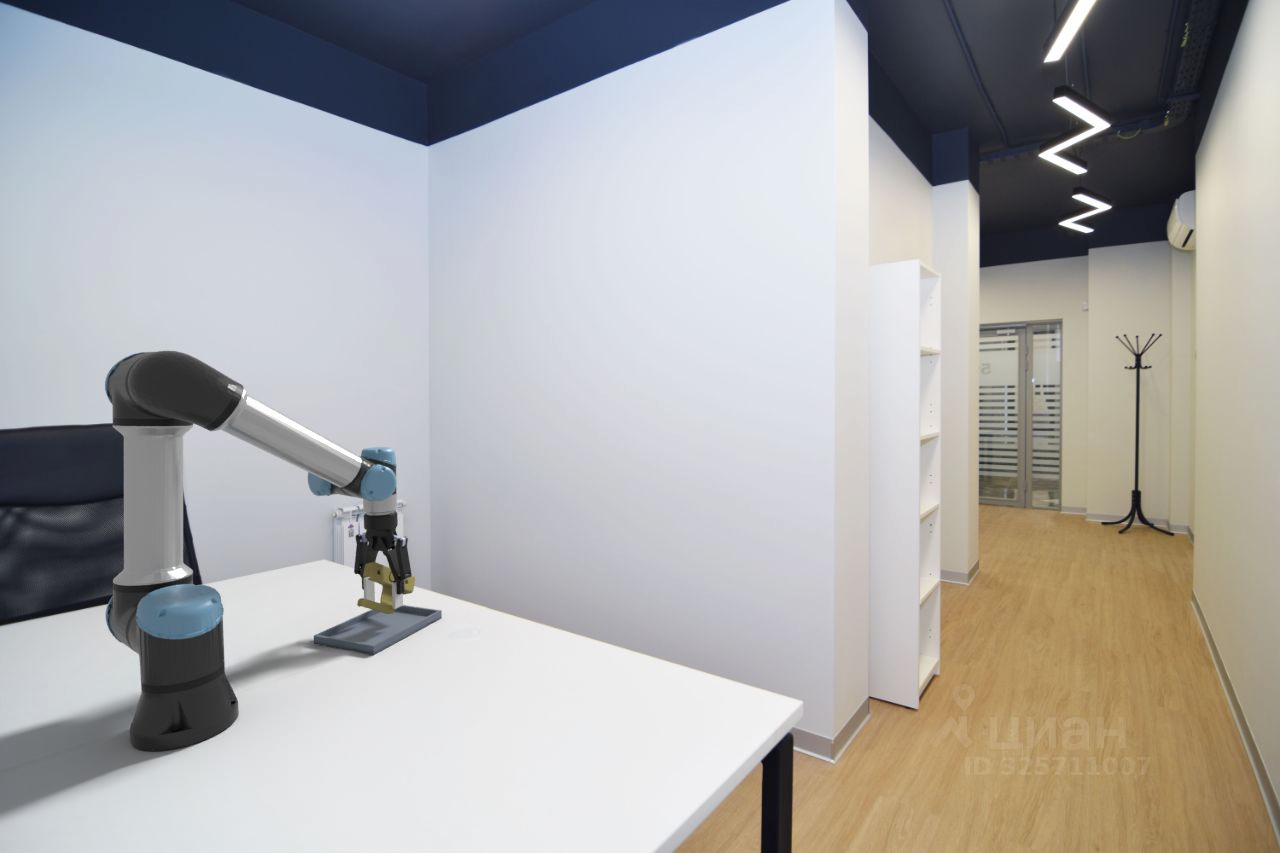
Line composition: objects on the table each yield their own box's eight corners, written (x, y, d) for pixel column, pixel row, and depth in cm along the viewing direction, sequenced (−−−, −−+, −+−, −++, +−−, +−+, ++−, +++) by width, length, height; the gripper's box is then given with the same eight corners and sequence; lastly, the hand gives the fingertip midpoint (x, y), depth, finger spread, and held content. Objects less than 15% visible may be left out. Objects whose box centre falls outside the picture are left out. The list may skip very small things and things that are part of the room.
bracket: (379, 624, 157) (409, 618, 153) (331, 611, 145) (363, 605, 142) (386, 582, 162) (416, 576, 158) (341, 567, 151) (372, 560, 147)
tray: (373, 655, 137) (373, 646, 137) (313, 644, 143) (313, 635, 143) (441, 618, 159) (441, 610, 159) (387, 610, 165) (386, 602, 164)
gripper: (426, 511, 150) (429, 604, 152) (358, 506, 158) (361, 595, 159) (404, 517, 143) (407, 615, 145) (334, 512, 150) (338, 605, 152)
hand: (383, 604), depth 152 cm, fingers closed on bracket, 8 cm apart
